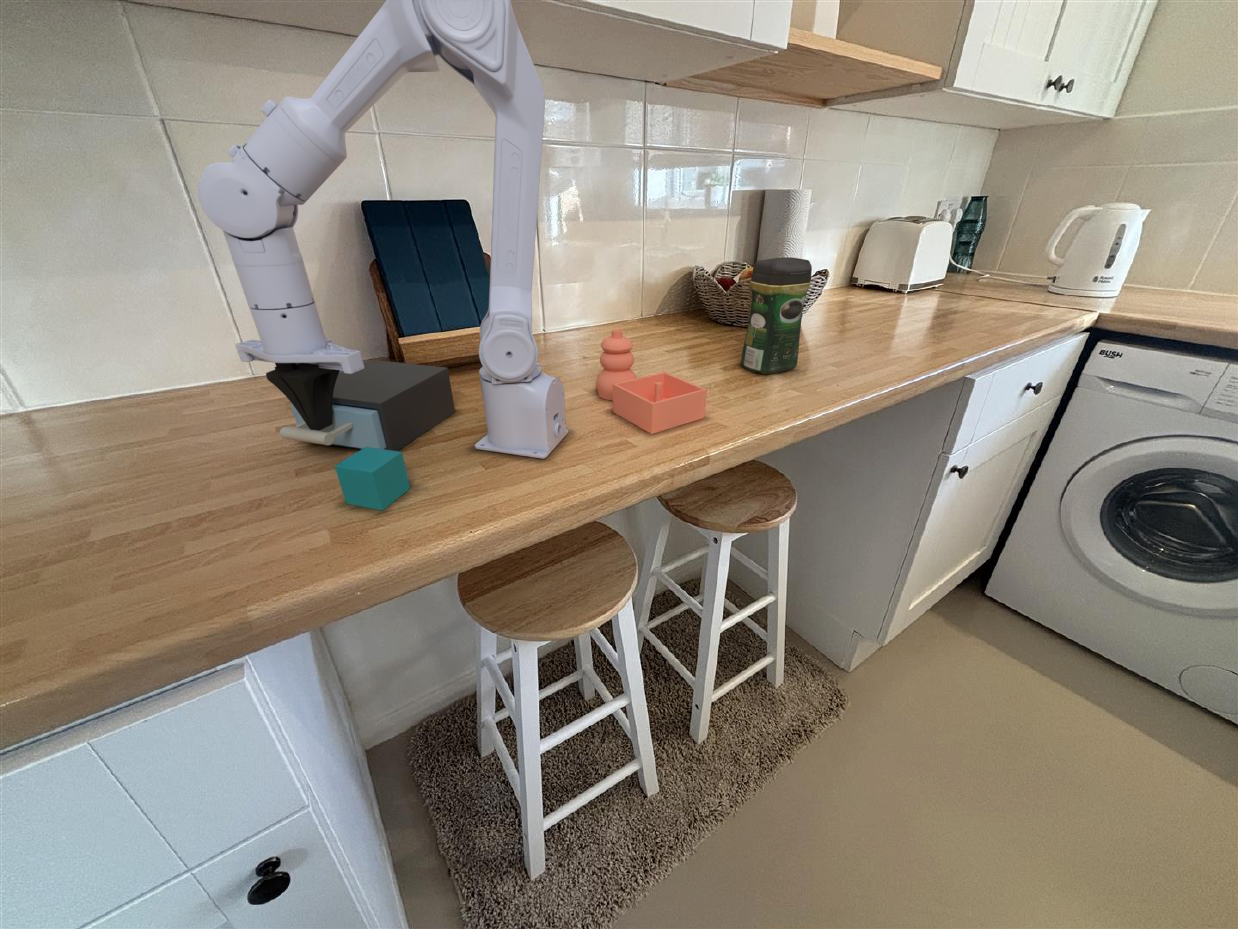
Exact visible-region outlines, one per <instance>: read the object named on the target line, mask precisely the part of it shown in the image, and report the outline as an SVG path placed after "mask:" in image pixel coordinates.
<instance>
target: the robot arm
mask: <svg viewBox="0 0 1238 929" xmlns="http://www.w3.org/2000/svg"><path fill="white" fill-rule="evenodd" d="M437 56H439V57H440V59H441V60H442V61H443V62H444V63H445V64H446V65H447V66H449V67H450V68H451V69H453V71H455V72H456V73H457V74H459V75H460V76H462V77H463V78H465V79H466V80H467V81H468V82H470V83H471V84H472V85H473V86H474V88H475V90H476V91H477V92H478V94H479V95H480V96H481V98H482V99H483V101H485V103H486V105H488V106H489V108H490V109H491V111H492V112H493V114H494V117H495V125H494V151H493V152H494V153H493V154H494V155H493V182H492V183H493V184H492V209H491V210H492V211H491V240H490V268H489V269H490V270H489V291H488V292H489V293H488V308H487V312H486V314H485V315H484V317H483V319H482V320H481V323H480V326H479V338H480V339H479V340H480V341H479V345H478V357H479V361H480V363H481V365H482V366H481V367H480V369H478V374H479V379H480V380H479V382H480V388H481V395H482V402H483V403H482V404H483V410H484V417H485V426H486V432H487V434H486V435H484V436H483V437H482V438H481V439H480V440H479V441H477V442H476V443H475V444H474V448H475V450H480V451H488V452H495V453H502V454H508V455H515V456H521V457H527V458H528V457H529V458H536V459H546V458H547V457H549V455H550V454H551V453H553V452H552V451H554V449H555V448H556V447H557V446H558V445H559V444H560V443H561V441H562V440H563V439H564V438H565V437H566V436H567V434H569V429H568V428H567V420H566V419H567V418H566V402H565V400H566V398H565V389H564V385H563V382H562V380H561V378H559V377H556V376H551V375H549V374H547V373H545V372H543V370H542V366H541V363H539V362H538V360H539V347H538V343H537V342H536V339H535V337H534V335H533V298H532V294H533V293H532V292H533V291H532V290H533V278H534V264H535V249H536V234H537V221H538V208H539V207H538V206H539V193H540V180H541V169H542V168H541V166H542V155H543V154H542V152H543V139H544V124H545V112H546V111H545V110H546V97H545V90H544V87H543V84H542V82H541V80H540V77H539V75H538V72H537V70H536V67H535V65H534V62H533V60H532V58H531V57H532V56H531V55H530V53H529V50H528V48H527V45H526V42H525V40H524V38H523V35H522V33H521V30H520V28H519V25H518V22H517V18H516V15H515V12H514V8H513V6H512V2H511V0H385V2H384V3H383V4H382V5H381V7H380V8H379V10H378V11H377V12H376V13H375V15H374V16H373V18H372V19H371V20H370V21H369V22H368V24H367V25H366V26H365V28H364V29H363V30H362V31H361V33H359V35H358V37H357V38H356V39H355V40H354V42H353V43H352V44H351V45H350V47H349V48H348V49H347V51H346V52H345V53H344V55H343V56H342V57H341V58H340V60H339V61H338V62H337V63H336V65H334V67H333V69H331V71H330V72H329V74H327V76H326V78H325V79H324V80H323V81H322V83H321V84H320V85H319V86H318V87H317V89H316V90H315V91H314V93H313V95H311V97H309V98H302V97H297V96H289V95H288V96H287V95H286V96H284V97H283V98H282V100H281V101H280V102H279V103H278V102H277V101H275V100H273V99H268V100H267V101H266V102H265V103H264V105H263V106H262V107H260V108H261V112H262V114H264V116H266V118H265V119H264V120H263V121H262V122H261V123H260V125H259V126H257V128H256V129H255V130H254V132H252V134H251V135H250V136H249V137H248V138H247V139H246V140H245V142H244V143H243V144H242V145H240V144H233V145H232V146H230V148H229V149H228V150H227V154H228V155H229V156H230V157H231V159H232V162H228V161H220V162H214V163H211V164H208V165H207V166H205V167H204V170H203V175H202V176H201V178H200V179H199V181H198V185H197V195H198V201H199V203H200V204H199V205H200V207H201V208H202V210H203V212H204V214H205V215H206V216H207V218H208V219H209V220H210V221H211V222H212V223H213V224H214V225H215V226H216V227H217V228H219V229H220V230H221V231H222V232H223V235H224V239H225V241H226V244H227V247H228V250H229V253H230V256H231V261H232V262H233V265H234V269H235V271H236V273H237V276H238V279H239V280H238V281H239V282H240V285H241V288H242V291H243V294H244V297H245V300H246V302H247V305H248V308H249V311H250V314H251V317H252V320H253V322H254V325H255V328H256V331H257V334H258V337H259V339H249V340H245V341H241V342H237V343H235V344H234V345H235V348H236V351H237V354H238V356H239V360H240V361H241V362H245V363H251V362H253V361H255V362H266V363H273V364H274V365H275V366H274V370H272V369H271V370H270V371H267V372H266V373H265V376H266V380H267V381H268V382H270V383H271V384H272V385H274V386H275V387H276V388H277V389H278V390H279V391H280V392H281V393H282V394H283V395H284V396H285V397H286V398H287V400H288V401H289V402H290V403H292V404H293V406H294V407H295V408H296V410H297V411H298V413H299V414H300V415H301V417H302V418H303V420H304V421H305V423H306V424H307V426H308V427H309V429H310V430H317V431H320V430H322V429H324V428H326V427H328V426H330V425H332V402H333V392H334V387H335V383H336V380H337V377H338V374H339V372H340V370H342V371H343V372H344V373H346V374H352V373H355V372H357V371H360V370H362V369H364V364H363V363H364V360H363V356H362V352H361V350H358V349H357V350H356V349H351V348H347V347H345V346H341V345H339V344H337V345H335V344H336V343H334V344H333V340H332V338H330V337H326V336H325V332H324V328H323V326H322V322H321V318H320V314H319V310H318V308H317V304H316V301H315V298H314V294H313V291H312V287H311V283H310V280H309V276H308V273H307V270H306V266H305V262H304V258H303V255H302V253H301V251H300V247H299V243H298V241H297V240H298V239H297V236H296V233H295V230H294V226H295V225H296V223H297V221H298V217H299V206H303V205H304V204H306V203H307V201H308V200H309V199H310V198H311V197H312V196H313V195H314V194H315V193H316V192H317V191H318V189H320V187H321V186H322V185H323V184H324V183H325V182H326V181H327V180H328V179H329V178H330V177H331V175H332V174H333V173H334V172H335V171H336V170H337V169H338V168H339V167H340V166H341V164H343V163H344V161H345V160H346V159H347V158H348V151H347V145H346V133H347V132H348V131H349V130H350V129H351V128H352V127H353V126H354V125H355V124H356V123H358V122H359V120H360V119H361V118H362V117H363V116H364V115H365V114H366V113H367V112H368V111H369V110H370V109H371V108H372V107H373V106H375V104H376V103H377V102H378V101H379V100H380V99H382V97H383V96H384V95H385V94H386V93H387V92H388V91H390V89H391V88H393V87H394V85H396V83H398V82H399V81H400V80H401V79H402V78H403V77H404V76H405V75H406V74H408V73H436V72H440V67H439V65H438V62H437V59H436V57H437ZM338 345H339V346H338Z"/></svg>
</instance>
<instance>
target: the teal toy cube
mask: <svg viewBox="0 0 1238 929" xmlns="http://www.w3.org/2000/svg"><path fill="white" fill-rule="evenodd" d="M334 469H335V470H334V471H335V473H336V476H337V479H338V482H339V485H340V488H341V491H342V494H343V498H344V501H345V504H346V505H352V506H355V507H360V508H367V509H371V510H378V511H384V510H386V509H387V508H388V507H389V506H391V505H392V504H393V503H394V502H395V501H396V500H398V499H399V498H401V497H402V496H403V495H405V493H406V492H408V491H409V490H411V484H410V481H409V476H408V472H407V467H406V463H405V458H404V454H403V452H402V451H399V450H398V451H391V450H385V449H378V448H372V447H365V448H363V449H359V450H358V451H356V452H355V453H353V454H352V455H350V456H348V457H347V458H345V459H343V460H342V461H340V462H339V463H337V464H335V465H334Z"/></svg>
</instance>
